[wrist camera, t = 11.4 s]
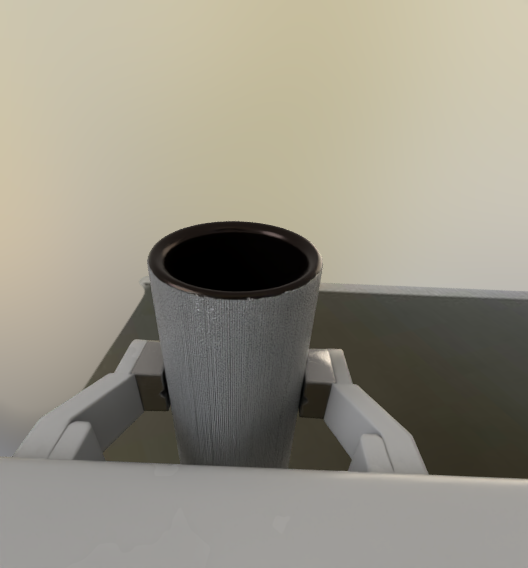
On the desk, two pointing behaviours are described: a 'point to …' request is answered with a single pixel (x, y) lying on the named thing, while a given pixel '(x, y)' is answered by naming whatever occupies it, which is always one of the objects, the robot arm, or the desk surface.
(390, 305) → the desk surface
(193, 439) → the tall grey cup
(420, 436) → the desk surface
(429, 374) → the desk surface
